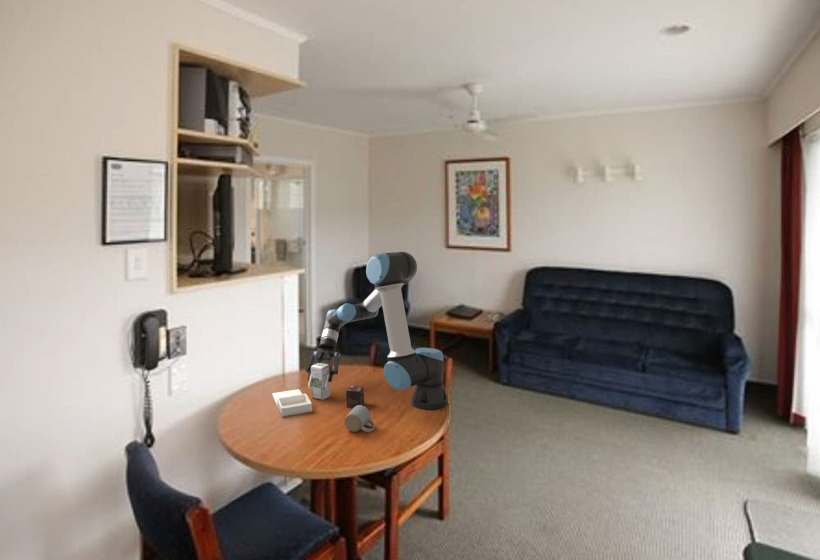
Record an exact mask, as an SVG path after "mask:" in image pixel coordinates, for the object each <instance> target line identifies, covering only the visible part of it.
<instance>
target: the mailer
mask: <svg viewBox="0 0 820 560" xmlns="http://www.w3.org/2000/svg"><path fill="white" fill-rule="evenodd" d="M271 394H272V398H273V400H274V403H275V404H276V406H277V410H278V412H279V414H280V416H281V418H283V417H289V415H290V416H294V415H295V416H296V415H301V414H306V413H307V414H308V413H312V412H313V403H312V402H311V399H310V398H309V396H308V394H306V393H302V392H301V390H300V388H299V389H292V390H285V391H279V392H273V393H271Z"/></svg>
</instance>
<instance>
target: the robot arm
mask: <svg viewBox="0 0 820 560" xmlns="http://www.w3.org/2000/svg"><path fill="white" fill-rule="evenodd" d="M365 268H366V269H365V273H366V278H367V279H368V281H369V283H371V284H372V285H374V290H373V291H372V292H371V293H370V294H368V296H367V297H366V298H365V299H364V300H363V301H362V302H361V303H356V304H351V303H343V304H342V305H340V306H339V307H338V308H337V309H329V310H328V311H327V313H326V315H325V318H324V319H325V321H324V323H323V329H322V332H321V337H320V341H319V345H318V349H317V350H316V351H314V350H311V351H310V356H309V358H308V359H309V360H308V361H307V365H306V367H305V372H306V374H308V376H307V380H308V383H307V387H308V389H309V390H312V381H311V366H313V365H314V364H317V363H322V361H327V363H328V365H329V373H327V378H326V382H325V389H326V390H328V386H329V387H330V383H332V381H333V377H334V375H338V374H339V373H338V372H339V365H340V364H339V363H340V359H341V356H342V355H341V353H340V351H337V352H336V348H337V343H338V338H339V334H340V329H341V328H342V327H344V325H346V324H348V323H351V322H357V321H363V320H366V319H367V320H368V319H372V318H375V317H377V316H378V315H379V311H380V310H379V309H380V308H381V307H382V311H383V318H384V323H385V329H386V335H387V341H388V346H389V353H388V354H387V356H386V357H387V362H386V363H385V364H384V367H383V374H384V378H385V381H386V382H387V383H388V385H390V387H391V388H392V389H395V390H397V391H398V390H399V391H401V390H405V389H409V388H410V387H413V386H414V388H413V391H412V394H411V395H412V396H411V405H413V406H414V407H416V408H418V409H421V410H438V409H441V408H444V407H446V406H447V405H448V395H447V392H446V389H445V387H444V354H443V351H442V350H439V349H437V348H431V347H418V348H415V349H414V348H412V345H411V344H412V343H411V337H410V332H409V327H408V326H409V325H408V321H407V315H406V310H405V309H406V308H405V305H404V298H403V293H402V287H403V286H404V285H408V284H409V283H410V282H411V280H413V279H414V277H415V276H416V274H417V271H418V263H417V260H416V259H415V257H414V256H413V255H412V254H410V253H409V252H406V251H395V252H382V253H376V254H374V255H372V256H371V257H369V259H368V262H367V263H366V267H365ZM334 356H335V358H334V366H333V361H332V360H333V359H332V358H333V357H334ZM315 357H316V359H315Z"/></svg>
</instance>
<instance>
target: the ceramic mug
mask: <svg viewBox="0 0 820 560" xmlns="http://www.w3.org/2000/svg"><path fill="white" fill-rule="evenodd" d="M368 424H370V426H371V427H372V428H368V427H365V426H366V425H368ZM344 426H345V428H346V429H347V431H349V432H353V433H357V432H359V431H361V430H362V431H363V432H365V433H372V432H373V431H374V429H375V428H376V424H375V422H374V421H373V420H372V419H371V412H370V410H369V409H368V408H367V407H366V406H364V405H357V406H355V407H354V408H351V410H350V411H349V412H348V414H347V415H346V416H345V418H344Z"/></svg>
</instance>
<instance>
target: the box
mask: <svg viewBox="0 0 820 560" xmlns="http://www.w3.org/2000/svg"><path fill="white" fill-rule="evenodd" d="M364 387H365V386H362V385H350V386H348V387H347V389H346V392H345V396H346V397H345V398H346V408H351V409H353V408H354V407H355V406H357V405H362V406H364V404H365V390H364V389H365V388H364Z"/></svg>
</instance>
